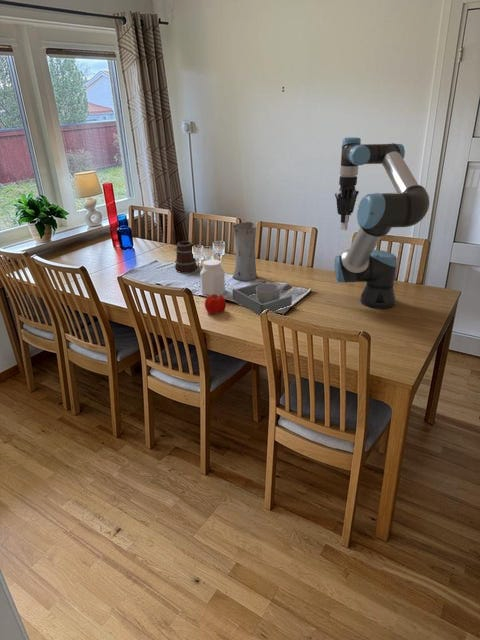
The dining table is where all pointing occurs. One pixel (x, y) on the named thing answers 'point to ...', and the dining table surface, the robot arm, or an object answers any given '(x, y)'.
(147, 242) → the dining table surface
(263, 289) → the teacup
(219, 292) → the jar
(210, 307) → the tomato
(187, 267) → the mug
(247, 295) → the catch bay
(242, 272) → the vase
